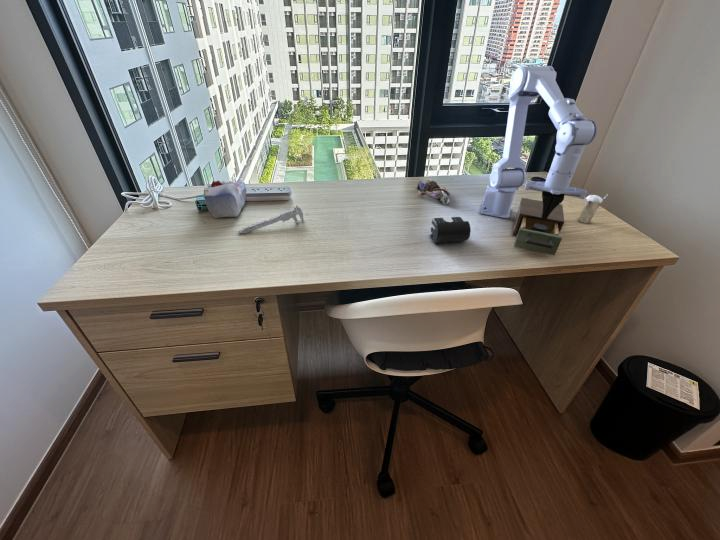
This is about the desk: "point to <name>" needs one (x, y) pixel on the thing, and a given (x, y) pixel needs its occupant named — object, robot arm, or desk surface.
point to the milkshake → (590, 208)
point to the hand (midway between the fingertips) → (543, 217)
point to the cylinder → (539, 227)
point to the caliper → (275, 219)
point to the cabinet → (537, 213)
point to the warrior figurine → (433, 191)
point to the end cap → (450, 230)
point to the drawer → (538, 236)
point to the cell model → (225, 198)
